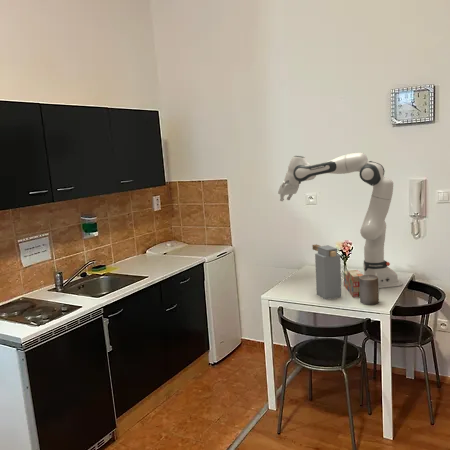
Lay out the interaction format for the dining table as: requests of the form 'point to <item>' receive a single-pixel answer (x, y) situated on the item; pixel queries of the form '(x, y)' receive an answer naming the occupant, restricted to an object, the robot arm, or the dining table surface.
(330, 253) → the oak bar
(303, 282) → the dining table surface
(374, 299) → the pillar candle
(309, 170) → the robot arm
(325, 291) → the slate-grey stand
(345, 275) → the stack of blocks
